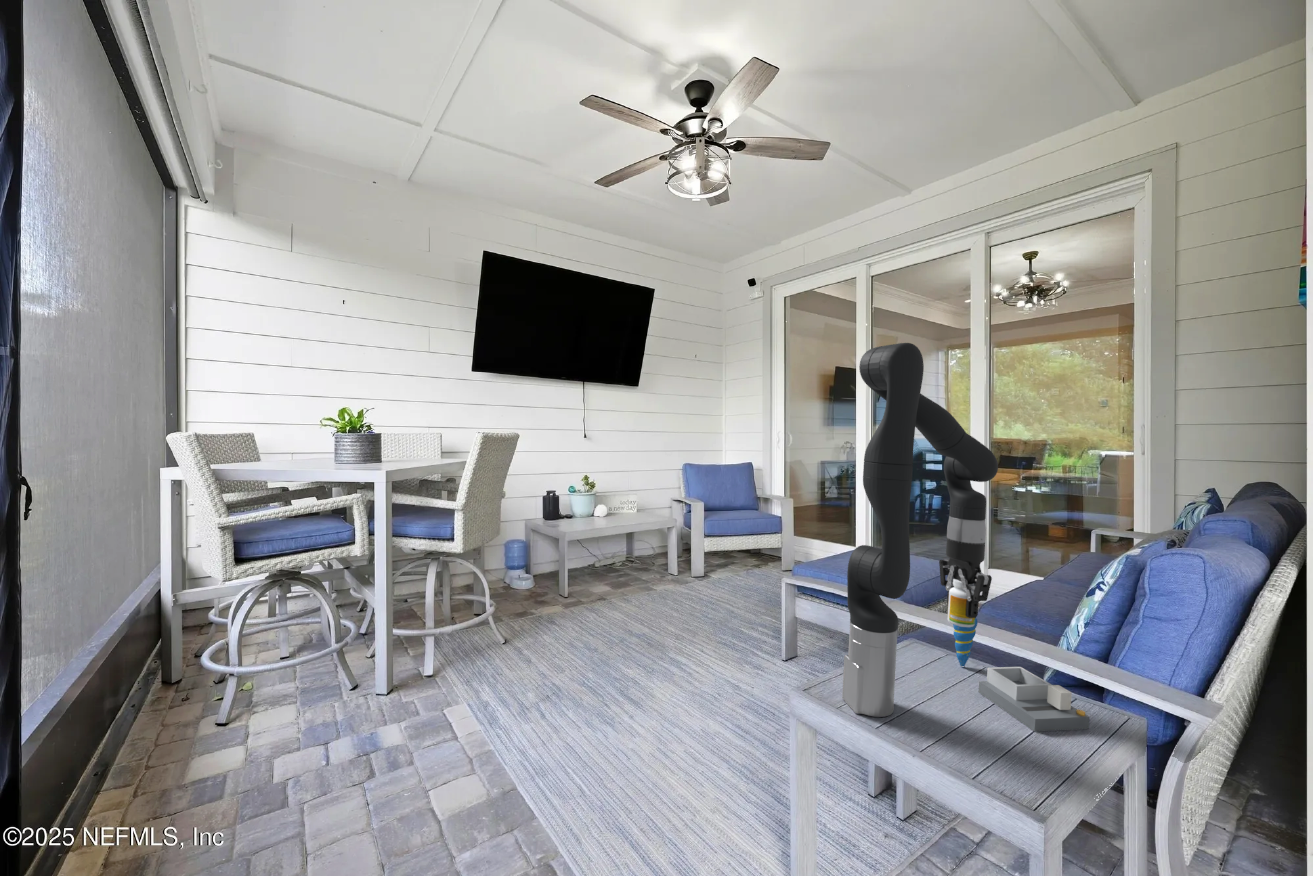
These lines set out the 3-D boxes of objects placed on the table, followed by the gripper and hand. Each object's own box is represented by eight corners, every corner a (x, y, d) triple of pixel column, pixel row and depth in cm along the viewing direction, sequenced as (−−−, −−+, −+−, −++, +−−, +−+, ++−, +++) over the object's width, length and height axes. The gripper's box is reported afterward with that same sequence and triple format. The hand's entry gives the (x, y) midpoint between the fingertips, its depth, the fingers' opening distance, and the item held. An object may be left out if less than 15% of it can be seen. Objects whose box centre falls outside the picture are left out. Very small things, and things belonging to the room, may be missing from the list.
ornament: (968, 663, 133) (972, 604, 133) (979, 673, 128) (982, 611, 128) (947, 661, 134) (950, 603, 133) (956, 671, 129) (959, 610, 128)
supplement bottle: (978, 629, 117) (981, 585, 117) (952, 626, 118) (954, 583, 118) (969, 620, 122) (972, 578, 122) (943, 617, 123) (946, 576, 123)
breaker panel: (1034, 731, 104) (1036, 704, 104) (978, 692, 119) (979, 668, 119) (1088, 728, 106) (1090, 701, 106) (1026, 690, 121) (1028, 666, 120)
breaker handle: (1059, 710, 107) (1061, 693, 107) (1047, 702, 110) (1048, 685, 110) (1070, 709, 107) (1071, 692, 107) (1057, 701, 110) (1058, 685, 110)
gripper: (1006, 545, 113) (1001, 624, 113) (958, 531, 127) (954, 601, 128) (974, 545, 112) (969, 625, 112) (929, 530, 126) (925, 601, 127)
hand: (961, 612), depth 120 cm, fingers closed on supplement bottle, 5 cm apart
